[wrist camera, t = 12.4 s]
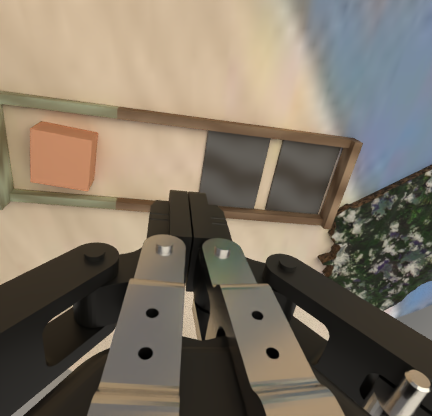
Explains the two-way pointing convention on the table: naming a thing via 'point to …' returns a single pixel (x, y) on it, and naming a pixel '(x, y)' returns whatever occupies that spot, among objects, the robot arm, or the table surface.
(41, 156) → the block
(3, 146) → the lane
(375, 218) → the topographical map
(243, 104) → the table surface
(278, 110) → the table surface
